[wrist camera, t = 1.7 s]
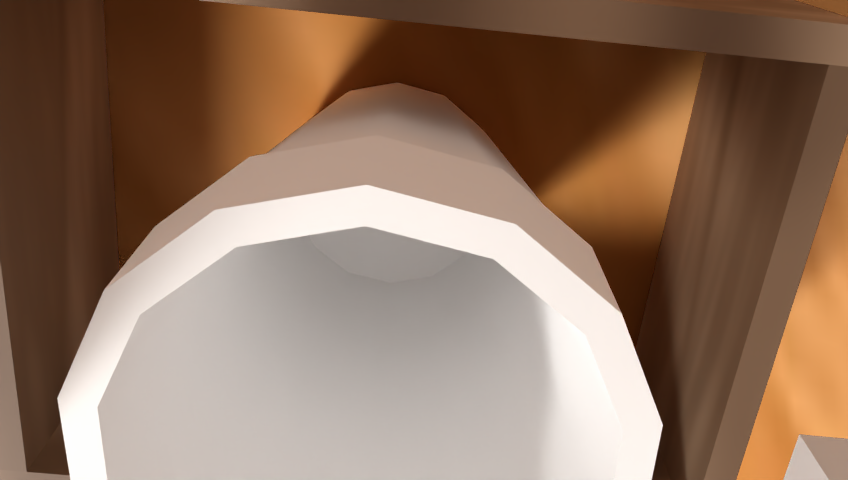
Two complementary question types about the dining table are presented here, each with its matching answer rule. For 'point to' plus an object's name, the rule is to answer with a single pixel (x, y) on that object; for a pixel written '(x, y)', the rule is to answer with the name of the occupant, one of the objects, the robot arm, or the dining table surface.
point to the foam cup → (362, 322)
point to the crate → (490, 10)
